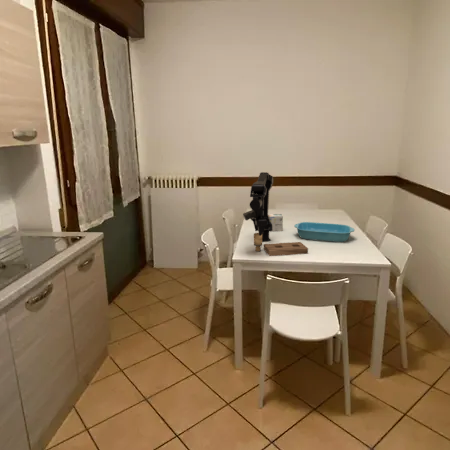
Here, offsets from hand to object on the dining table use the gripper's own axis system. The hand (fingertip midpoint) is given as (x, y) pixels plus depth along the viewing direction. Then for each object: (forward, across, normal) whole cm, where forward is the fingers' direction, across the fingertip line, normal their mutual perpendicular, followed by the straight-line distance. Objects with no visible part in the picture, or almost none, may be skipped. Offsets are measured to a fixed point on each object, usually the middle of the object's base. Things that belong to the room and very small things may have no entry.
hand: (258, 233), depth 207 cm
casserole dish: (+11, -18, +47) cm, 51 cm away
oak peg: (+10, 0, 0) cm, 10 cm away
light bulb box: (+11, -40, +21) cm, 46 cm away
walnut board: (+10, +4, +15) cm, 19 cm away
